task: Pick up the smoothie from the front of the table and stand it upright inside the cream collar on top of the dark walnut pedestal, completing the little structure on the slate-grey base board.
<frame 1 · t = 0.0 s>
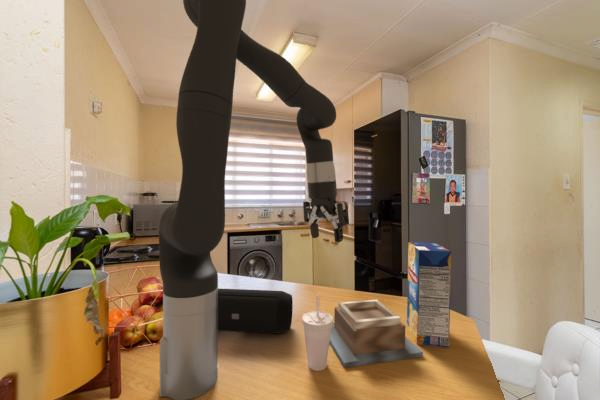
hand: (326, 239, 72), 22 cm above the countertop, tool pointing down, fingers open, 8 cm apart
pedestal base: (367, 341, 63), on the countertop
smoothie: (317, 365, 54), on the countertop
portable speaker: (241, 329, 69), on the countertop
beverage box: (426, 334, 67), on the countertop
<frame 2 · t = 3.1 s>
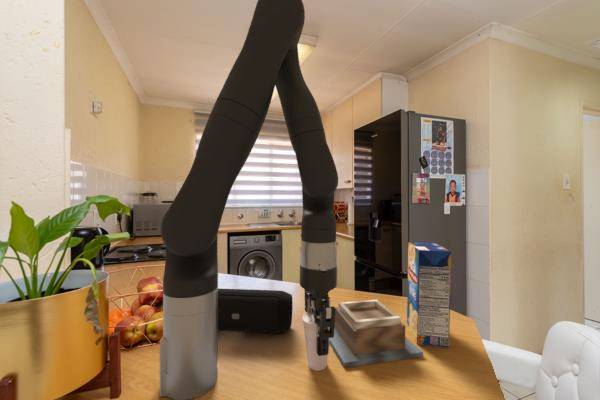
hand: (317, 344, 54), 4 cm above the countertop, tool pointing down, fingers closed on smoothie, 6 cm apart
smoothie: (317, 365, 54), on the countertop, touching gripper
everything else where it was.
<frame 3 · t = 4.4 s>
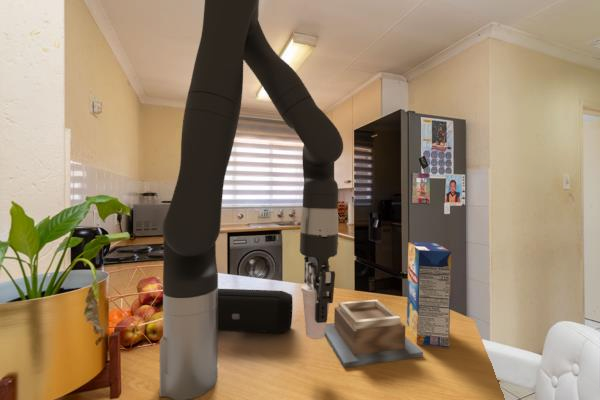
hand: (316, 313, 54), 11 cm above the countertop, tool pointing down, fingers closed on smoothie, 6 cm apart
smoothie: (315, 335, 54), point 6 cm above the countertop, touching gripper
everything else where it was.
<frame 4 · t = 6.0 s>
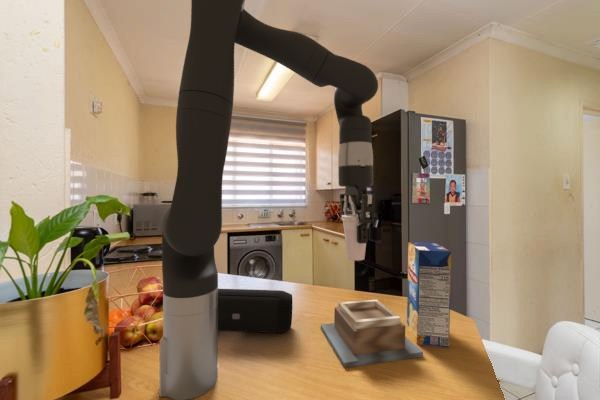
hand: (355, 239, 60), 24 cm above the countertop, tool pointing down, fingers closed on smoothie, 6 cm apart
smoothie: (355, 259, 60), point 20 cm above the countertop, touching gripper
everything else where it was.
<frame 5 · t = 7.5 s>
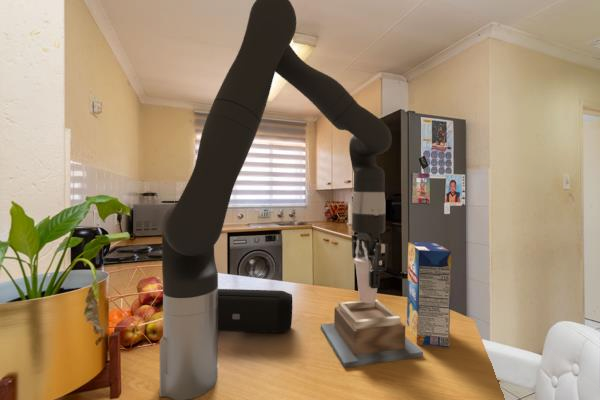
hand: (367, 282, 63), 14 cm above the countertop, tool pointing down, fingers closed on smoothie, 6 cm apart
smoothie: (367, 300, 63), point 10 cm above the countertop, touching gripper
everything else where it was.
when the fingers open (11 cm above the countertop, at t = 8.7 s): smoothie stays where it is, resting on pedestal base.
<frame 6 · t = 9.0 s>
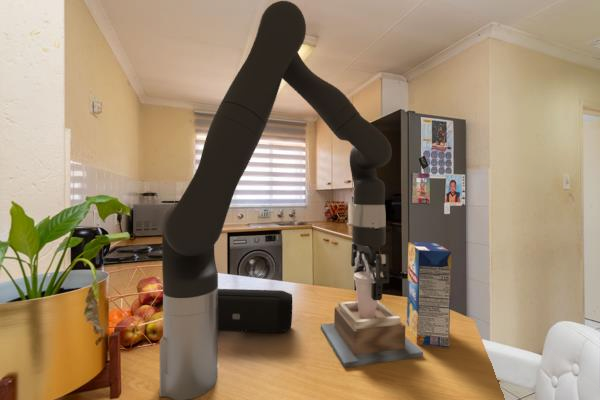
hand: (367, 292, 63), 12 cm above the countertop, tool pointing down, fingers open, 8 cm apart
smoothie: (366, 316, 63), point 6 cm above the countertop, touching pedestal base
everything else where it was.
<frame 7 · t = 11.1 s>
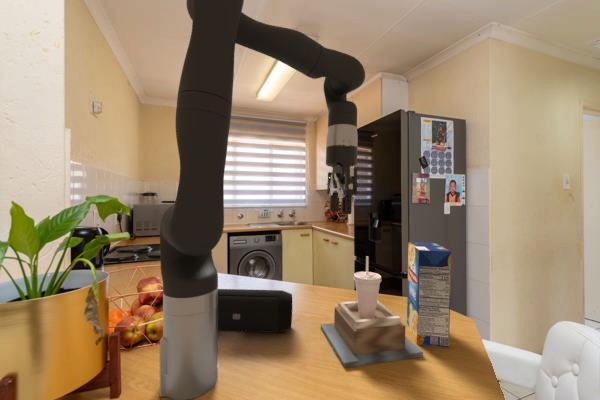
hand: (339, 212, 65), 30 cm above the countertop, tool pointing down, fingers open, 8 cm apart
nothing on the countertop moved.
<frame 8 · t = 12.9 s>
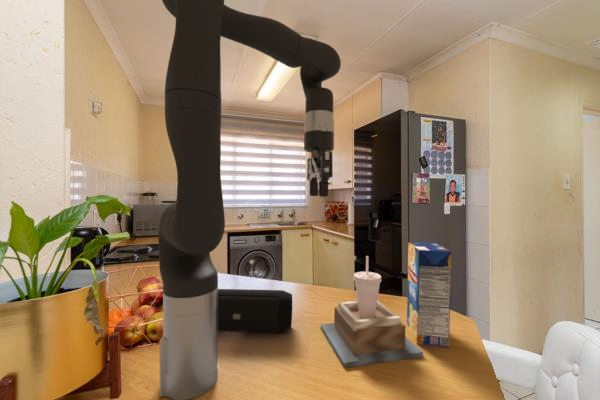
hand: (318, 196, 68), 34 cm above the countertop, tool pointing down, fingers open, 8 cm apart
nothing on the countertop moved.
at the end: smoothie 0.1 cm off-centre on the pedestal base, point 5.8 cm above the pedestal base's base; smoothie tilted 0°; the gripper is holding nothing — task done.
